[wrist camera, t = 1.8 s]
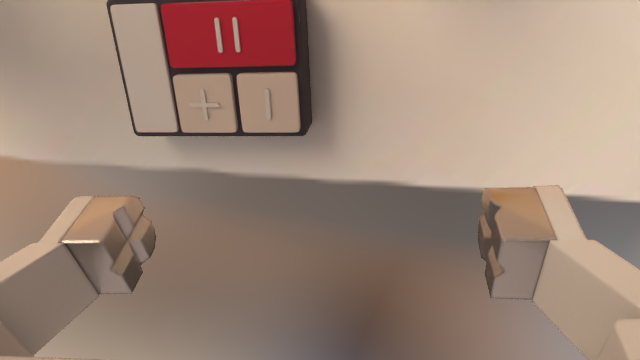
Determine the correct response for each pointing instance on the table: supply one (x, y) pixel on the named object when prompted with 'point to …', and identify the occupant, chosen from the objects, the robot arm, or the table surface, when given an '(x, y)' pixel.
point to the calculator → (214, 66)
